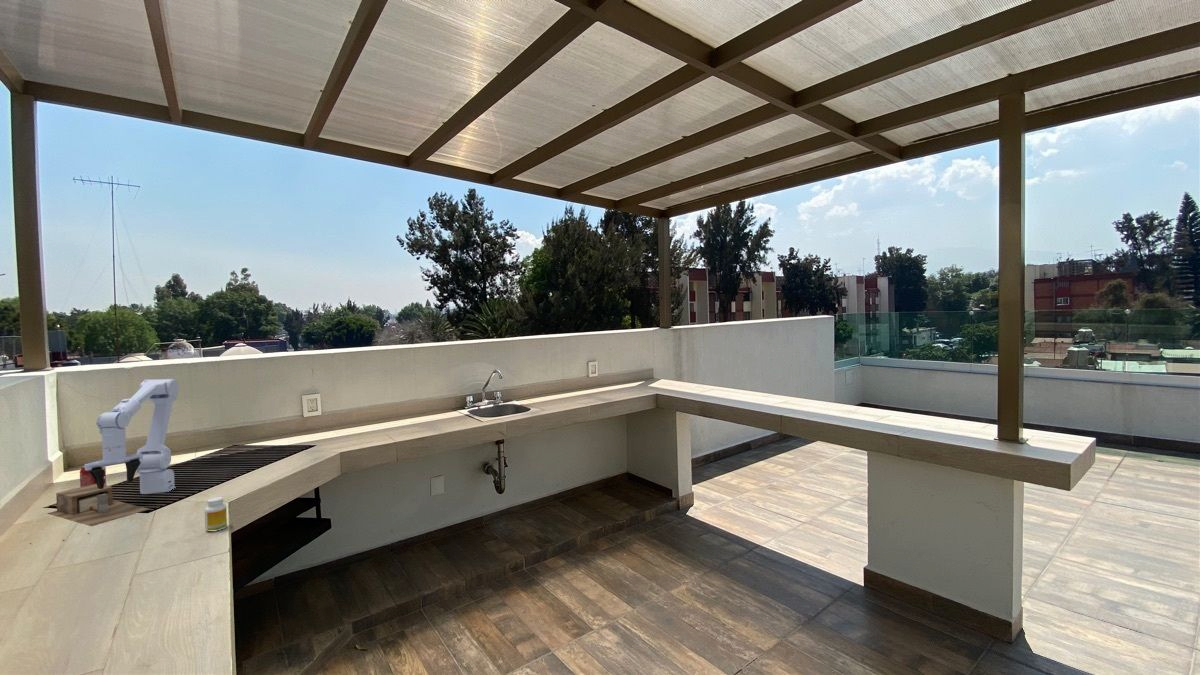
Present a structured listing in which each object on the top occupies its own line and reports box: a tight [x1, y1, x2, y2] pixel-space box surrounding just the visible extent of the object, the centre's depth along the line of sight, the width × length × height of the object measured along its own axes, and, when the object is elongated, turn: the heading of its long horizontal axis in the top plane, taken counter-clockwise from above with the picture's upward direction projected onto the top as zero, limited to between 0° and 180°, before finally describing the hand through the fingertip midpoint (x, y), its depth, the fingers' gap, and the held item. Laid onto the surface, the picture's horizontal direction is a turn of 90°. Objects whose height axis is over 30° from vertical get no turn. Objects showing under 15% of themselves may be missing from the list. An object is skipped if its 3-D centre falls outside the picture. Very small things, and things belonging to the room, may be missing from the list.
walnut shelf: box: [46, 484, 150, 527], centre depth 164 cm, size 28×15×7 cm, turn 69°
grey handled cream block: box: [77, 493, 108, 514], centre depth 166 cm, size 14×6×6 cm, turn 69°
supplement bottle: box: [204, 496, 228, 531], centre depth 153 cm, size 5×5×10 cm
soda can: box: [79, 464, 107, 488], centre depth 181 cm, size 7×7×12 cm
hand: (115, 485), depth 166 cm, fingers open, 7 cm apart
